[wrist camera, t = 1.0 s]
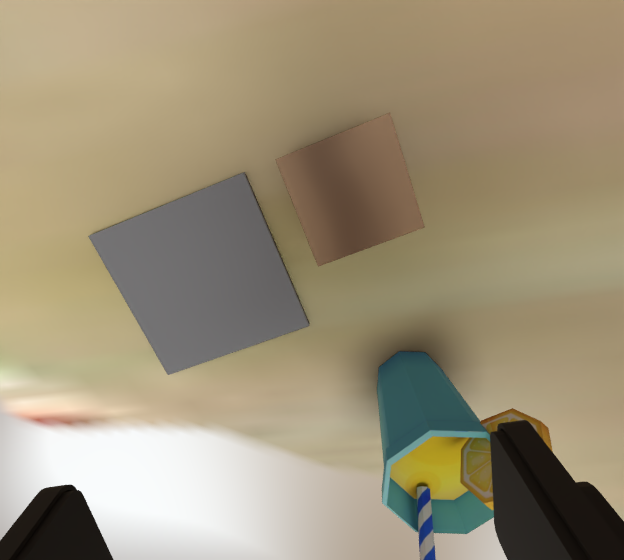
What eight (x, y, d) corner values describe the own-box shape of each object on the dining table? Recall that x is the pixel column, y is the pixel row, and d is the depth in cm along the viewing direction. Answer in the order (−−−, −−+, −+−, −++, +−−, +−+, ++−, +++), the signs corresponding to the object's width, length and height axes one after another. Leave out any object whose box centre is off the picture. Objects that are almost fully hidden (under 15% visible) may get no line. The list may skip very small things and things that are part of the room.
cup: (405, 466, 35) (464, 686, 21) (323, 436, 34) (328, 645, 20) (491, 334, 31) (639, 497, 17) (401, 295, 30) (477, 434, 16)
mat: (244, 171, 27) (243, 172, 27) (309, 323, 31) (309, 325, 30) (91, 234, 29) (88, 236, 28) (169, 372, 32) (167, 374, 32)
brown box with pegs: (371, 120, 26) (389, 112, 19) (399, 207, 28) (424, 227, 21) (285, 155, 27) (275, 159, 20) (317, 237, 29) (318, 266, 22)
